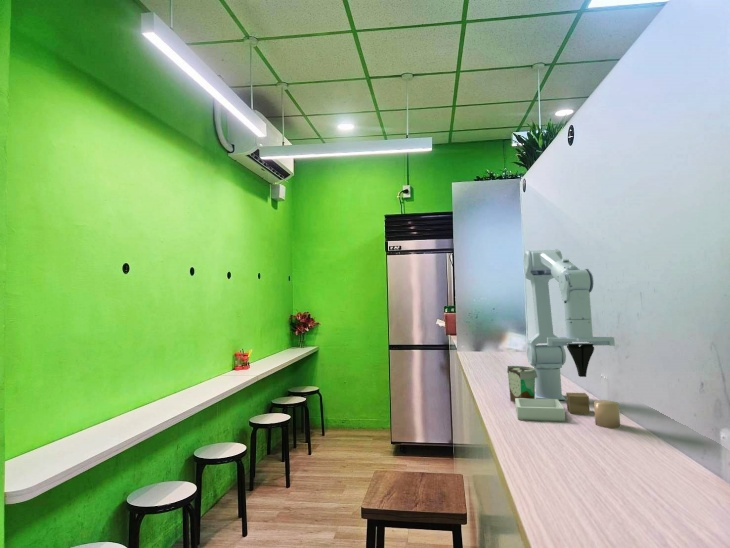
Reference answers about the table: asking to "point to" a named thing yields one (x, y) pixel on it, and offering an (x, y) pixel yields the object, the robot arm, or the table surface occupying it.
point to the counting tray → (539, 409)
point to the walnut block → (578, 403)
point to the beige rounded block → (607, 414)
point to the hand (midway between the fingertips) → (582, 376)
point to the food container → (521, 382)
